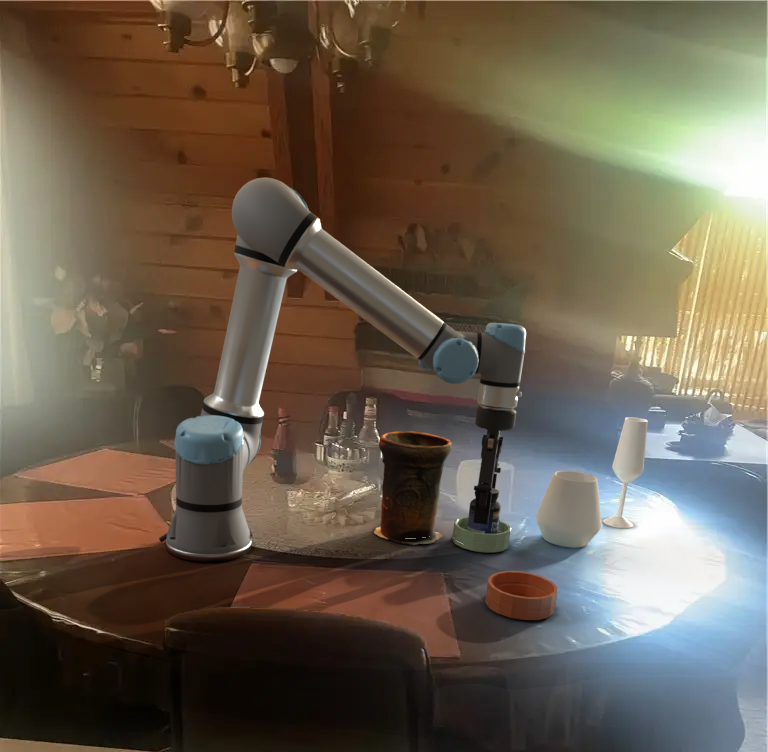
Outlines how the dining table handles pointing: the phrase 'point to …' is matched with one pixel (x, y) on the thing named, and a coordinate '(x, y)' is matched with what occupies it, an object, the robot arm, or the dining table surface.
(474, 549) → the back bowl
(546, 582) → the front bowl
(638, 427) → the champagne flute
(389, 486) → the vessel
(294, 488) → the dining table surface
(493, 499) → the pill bottle
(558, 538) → the cup
